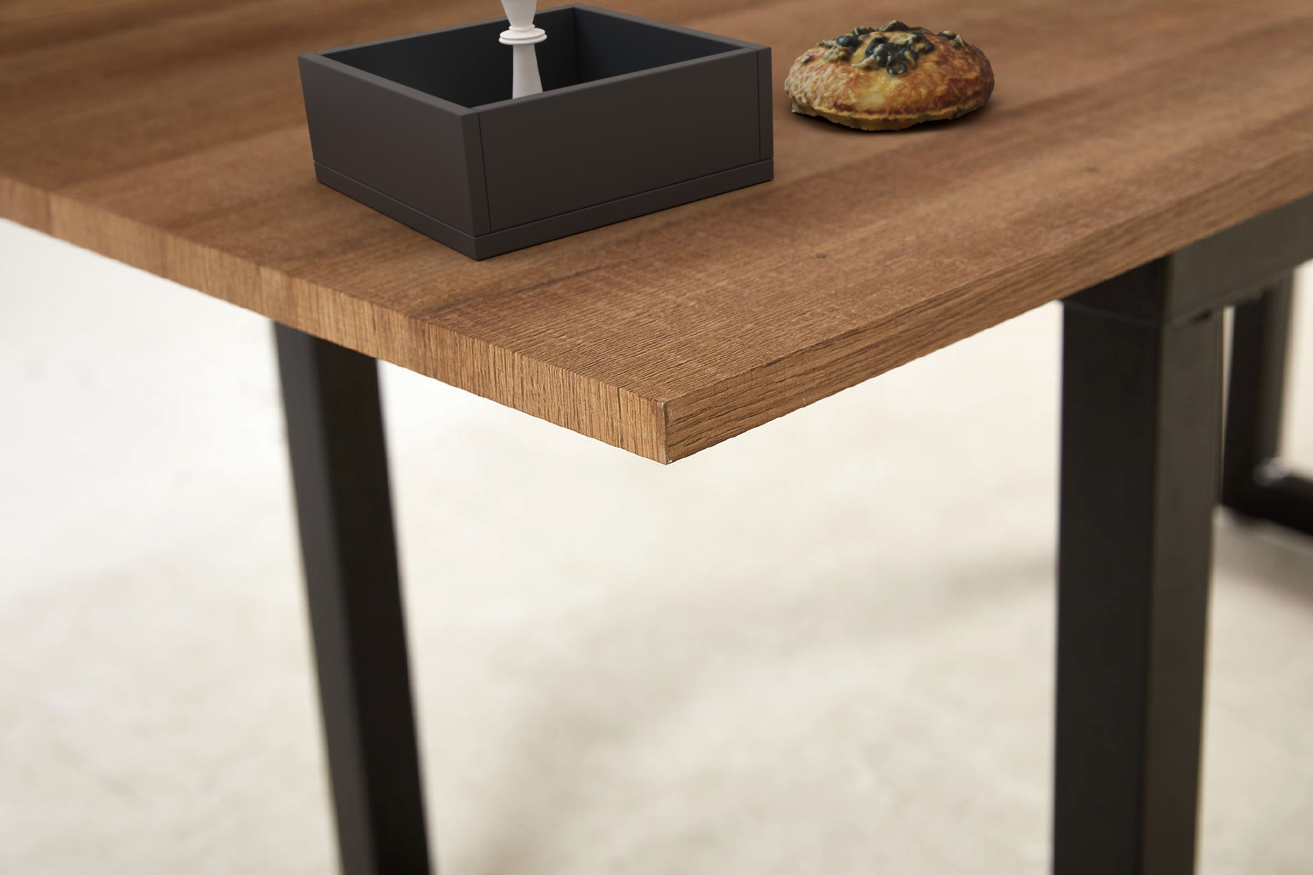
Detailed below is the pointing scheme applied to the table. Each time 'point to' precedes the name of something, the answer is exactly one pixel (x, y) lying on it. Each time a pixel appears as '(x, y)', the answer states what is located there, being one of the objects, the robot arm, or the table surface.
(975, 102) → the bread roll
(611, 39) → the bin
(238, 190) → the table surface
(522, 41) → the chess piece
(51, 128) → the table surface
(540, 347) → the table surface
